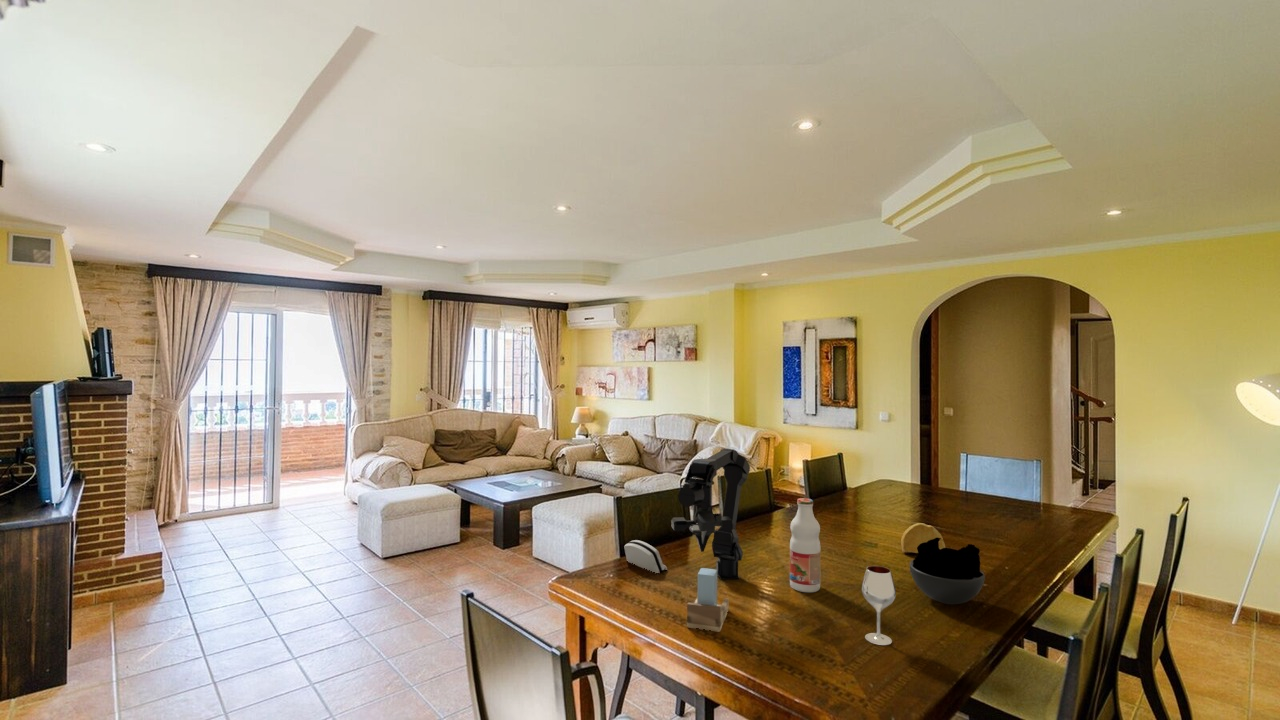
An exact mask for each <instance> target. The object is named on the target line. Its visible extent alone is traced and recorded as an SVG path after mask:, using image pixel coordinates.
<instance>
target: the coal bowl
mask: <svg viewBox="0 0 1280 720" xmlns="http://www.w3.org/2000/svg"><path fill="white" fill-rule="evenodd" d="M940 539H941V538H934V539H932V540H928V542H925V543H921V544H920V545H919V546H918V547H917V550H918V553H916V557H915V558H914V559H911V560H910V561H909V570H910V571H909V572H910V574H911V577H912V580H913V581H914V583H915V585H916V587H918V589H919V590H921V592H922V593H923V594H925V596H927V597H928V598H930V599H932V600H933V601H936V602H938V603H941V604H947V605H959V604H964V603H967V602H969V601H971V600H972V599H974V598H975V597H976V596H977V595H978V594H979V593H980V591H981V590H982V588H983V586H984V582H985V578H986V577H985V575H986V574H985V573H984V571H983V570H981V560H980V558H981V557H980V555H979V554H980V552H981V551H980V548H978V547H976V546H975V544H969V543H968V544H967V545H966V546H963V547H961V548H960V549H954V548H949V547H945V548H942V549H939V541H940Z"/></svg>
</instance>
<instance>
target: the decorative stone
mask: <svg viewBox="0 0 1280 720" xmlns="http://www.w3.org/2000/svg"><path fill="white" fill-rule="evenodd" d="M934 538H941V539H940V541H939V549H942V548H946V544H945V542H944V538H943V536H942V534H941V533H940V531H939V530H938V529H936V528H935V526H932V525H930V524H929V525H928V524H926V523H923V522H917V523H914V524H912V525H910V526H909V527H908V528H907V529H905V531H904V532H903V533H902V536H901V540H900V543H901V544H900V545H901V552H902V553H903V554H904V553H910V554H913V553H914V554H918V550H917V547H918V546H919V545H920V544H921V543H925V542H928V540H932V539H934Z"/></svg>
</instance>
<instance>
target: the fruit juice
mask: <svg viewBox="0 0 1280 720" xmlns="http://www.w3.org/2000/svg"><path fill="white" fill-rule="evenodd" d="M796 500H797V501H796V503H797V512H796V513H795V516H794V517H793V519H792V521H790V532H791V537H790V541H789V586H790V587H791V589H793V590H795V591H797V592H802V593H816V592H818V591H819V590H821V541H820V539H819V536H820V532H821V526H820V524H819V522H818V520H817V518H815V516H814V511H813V506H814V500H813V499H811V498H806V497H804V498H803V497H800V498H797V499H796Z"/></svg>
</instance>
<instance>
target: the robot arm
mask: <svg viewBox="0 0 1280 720" xmlns="http://www.w3.org/2000/svg"><path fill="white" fill-rule="evenodd" d="M721 468H722V469H723V477H724V478H725V481H726V491H725V497H724V502H723V503H724V505H723V509H722V514H721V513H714V511H713V505H712V504H713V501H712V499H713V485H715V482H714V478H715V477H716V476H717V474H718V473H717V471H718V470H720V469H721ZM750 471H751V466H750V464H749V462H748V460H747V459H746V458H745V457H744V456H742V455H740V454H739V453H738V451H737V450H735V449H731V448H722V449H720V451H718V452H716V453H714V454H713V455H711V456H709V457H707V458H697V459H693V460H692V462H691V463H690V465H689V468H688V470H687V472H686V475H685V479H684V485H683V488H681V489H680V490H679V492H678V495H677V499H678V502H679V503H680V504H681V506H683V507H685V508H690V507H692V508H693V509H692V520H686V518H685V517H684V516H683V517H681V516H680V517H672V518H671V520H670V522H671V525H670V526H671V528H672V530H673V531H674V532H684V531H686V530H687V528H689V531H690V532H691V533H692V534H694V536H695V538H696V542H697V544H698V548H699V550H700V552H701V553H704V551H705V549H706V546H707V544H708V541H709V539H710V537H711V535H712V534H713V538H712V542H711V548H712V550H711V551H712V555H713V558H717V560H716V562H715V563H716V564H715V569H716V570H717V577H718V578H719V579H720V580H740V579H741V578H740V575H739V561H742V559H743V555H744V551H743V549H742V548H741V545H740V544H739V541H740V539H739V535H738V533H737V530H736V527H737V520H738V513H739V505H740V504H739V503H740V497H741V491H742V487H743V484H745V482H747V480H748V477H749V473H750ZM716 527H719V528H717V530H716Z"/></svg>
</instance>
